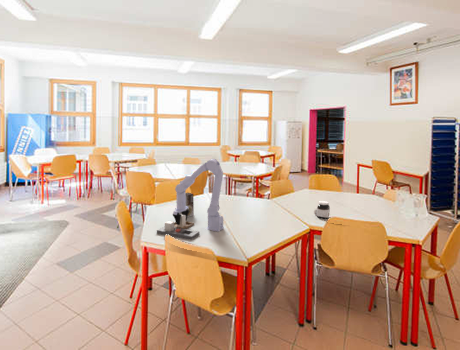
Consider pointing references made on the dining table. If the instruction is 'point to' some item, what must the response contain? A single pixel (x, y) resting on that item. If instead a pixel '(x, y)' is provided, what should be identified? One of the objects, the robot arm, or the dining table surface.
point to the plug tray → (188, 224)
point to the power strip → (179, 233)
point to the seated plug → (169, 226)
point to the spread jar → (322, 210)
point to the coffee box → (189, 203)
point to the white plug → (182, 221)
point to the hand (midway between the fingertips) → (181, 222)
